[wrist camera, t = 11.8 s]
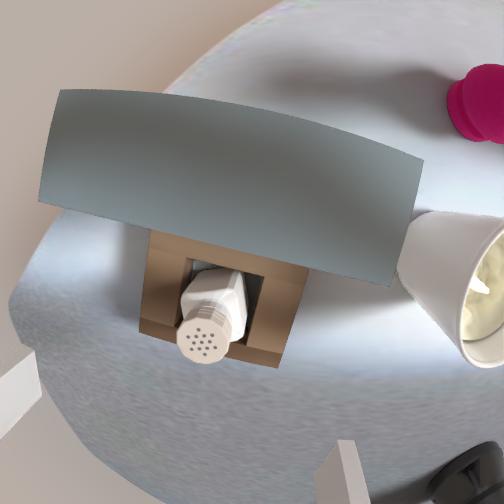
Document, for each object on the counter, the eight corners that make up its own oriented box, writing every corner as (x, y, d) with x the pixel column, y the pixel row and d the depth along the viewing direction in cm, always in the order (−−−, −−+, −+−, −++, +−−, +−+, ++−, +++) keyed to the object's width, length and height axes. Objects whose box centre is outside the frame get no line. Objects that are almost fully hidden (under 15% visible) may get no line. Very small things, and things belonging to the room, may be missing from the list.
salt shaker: (250, 307, 27) (241, 367, 17) (206, 312, 27) (178, 371, 18) (243, 263, 26) (229, 307, 17) (197, 269, 26) (161, 314, 17)
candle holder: (371, 291, 26) (431, 362, 14) (406, 186, 24) (495, 194, 12) (449, 313, 26) (517, 373, 14) (482, 222, 24) (568, 247, 12)
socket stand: (276, 347, 27) (280, 500, 11) (152, 315, 27) (57, 434, 11) (326, 173, 24) (423, 160, 8) (183, 141, 24) (60, 89, 8)
